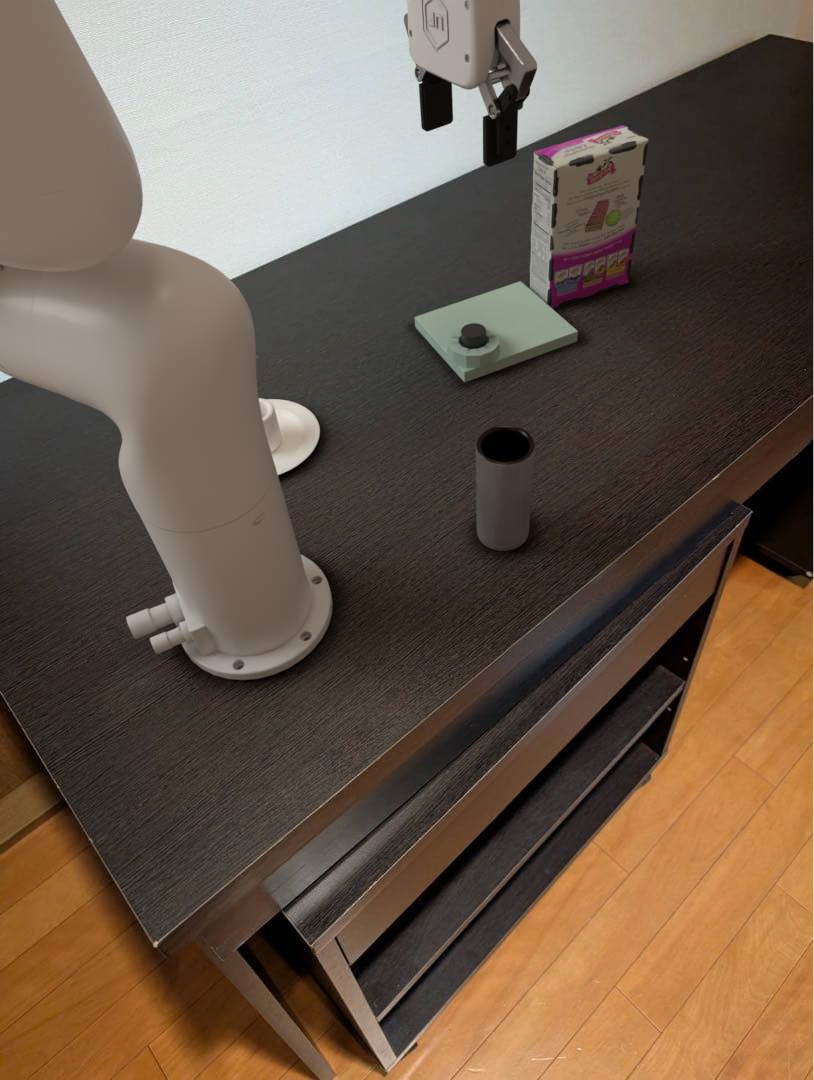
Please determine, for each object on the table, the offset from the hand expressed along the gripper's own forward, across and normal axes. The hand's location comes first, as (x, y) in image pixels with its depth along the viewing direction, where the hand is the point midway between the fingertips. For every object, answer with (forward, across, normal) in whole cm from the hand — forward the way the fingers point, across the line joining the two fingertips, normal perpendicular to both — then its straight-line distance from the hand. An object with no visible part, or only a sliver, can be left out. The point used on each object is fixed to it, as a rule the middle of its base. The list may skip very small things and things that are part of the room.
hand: (467, 143), depth 69 cm
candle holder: (+21, +1, -26) cm, 34 cm away
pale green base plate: (+21, 0, +3) cm, 22 cm away
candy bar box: (+22, -1, +16) cm, 27 cm away
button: (+19, +3, -2) cm, 19 cm away
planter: (+21, +24, -14) cm, 35 cm away
